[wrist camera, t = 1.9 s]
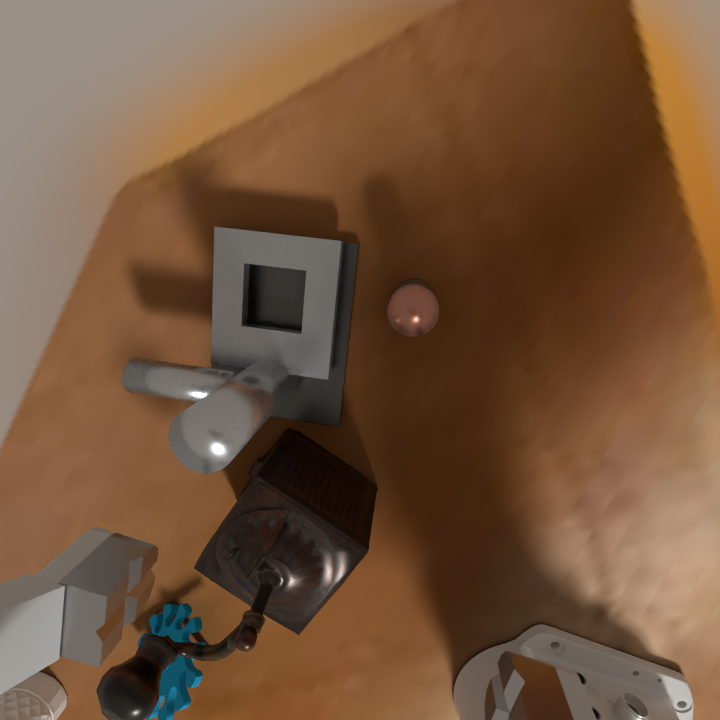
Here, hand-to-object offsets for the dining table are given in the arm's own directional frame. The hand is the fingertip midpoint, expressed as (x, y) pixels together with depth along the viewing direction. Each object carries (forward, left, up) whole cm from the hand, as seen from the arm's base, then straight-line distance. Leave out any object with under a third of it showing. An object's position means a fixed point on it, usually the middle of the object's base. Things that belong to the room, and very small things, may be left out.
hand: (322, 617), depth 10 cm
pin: (-2, -5, -28) cm, 29 cm away
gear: (+18, +35, -29) cm, 48 cm away
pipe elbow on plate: (+11, -1, -28) cm, 30 cm away
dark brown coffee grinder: (+7, +17, -28) cm, 34 cm away
